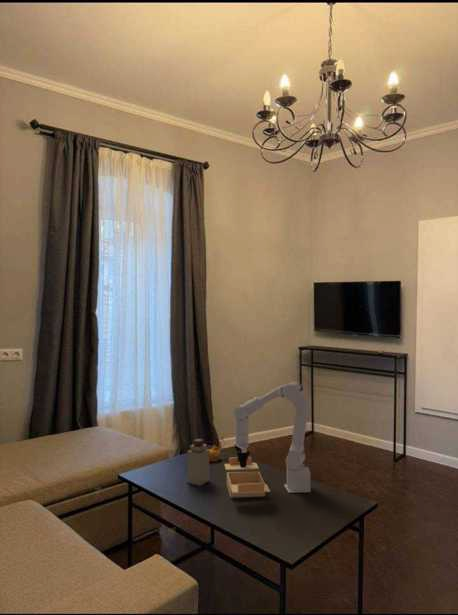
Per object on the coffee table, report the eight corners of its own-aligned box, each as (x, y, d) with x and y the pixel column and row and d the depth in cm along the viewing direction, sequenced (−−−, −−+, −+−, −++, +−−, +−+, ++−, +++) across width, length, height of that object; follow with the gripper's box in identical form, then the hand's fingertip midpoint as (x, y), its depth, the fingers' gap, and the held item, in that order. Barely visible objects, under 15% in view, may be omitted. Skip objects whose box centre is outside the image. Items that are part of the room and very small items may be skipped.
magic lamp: (191, 461, 216) (191, 439, 217) (221, 455, 227) (221, 433, 227) (198, 465, 211) (198, 442, 211) (228, 458, 221) (229, 436, 221)
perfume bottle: (209, 480, 191) (209, 439, 191) (199, 485, 185) (200, 443, 186) (196, 477, 195) (196, 437, 195) (187, 482, 189) (187, 440, 189)
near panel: (266, 484, 173) (266, 476, 173) (270, 491, 166) (270, 483, 166) (230, 486, 172) (230, 477, 172) (232, 493, 165) (232, 484, 165)
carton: (258, 483, 189) (259, 471, 189) (265, 496, 175) (265, 483, 175) (226, 484, 187) (226, 472, 187) (230, 497, 173) (230, 485, 174)
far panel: (256, 463, 198) (256, 456, 198) (258, 469, 191) (258, 461, 191) (224, 464, 196) (224, 457, 196) (225, 470, 189) (225, 462, 189)
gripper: (231, 428, 199) (230, 459, 199) (234, 437, 184) (234, 470, 184) (246, 428, 200) (246, 458, 199) (251, 437, 185) (251, 469, 185)
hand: (241, 464), depth 192 cm, fingers open, 7 cm apart
